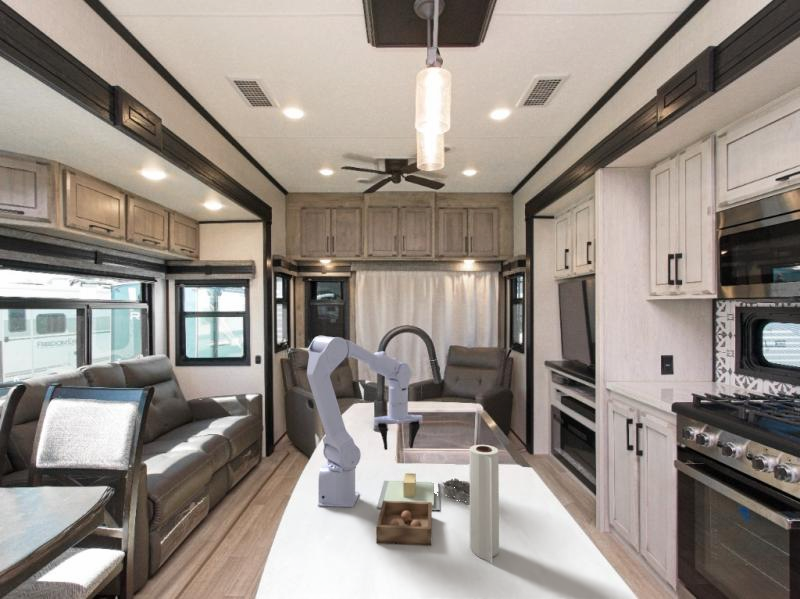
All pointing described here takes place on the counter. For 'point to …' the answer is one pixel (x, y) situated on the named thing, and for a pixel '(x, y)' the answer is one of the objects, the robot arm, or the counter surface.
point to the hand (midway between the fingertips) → (398, 447)
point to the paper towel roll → (484, 501)
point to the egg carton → (457, 489)
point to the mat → (384, 488)
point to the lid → (410, 490)
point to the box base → (405, 523)
